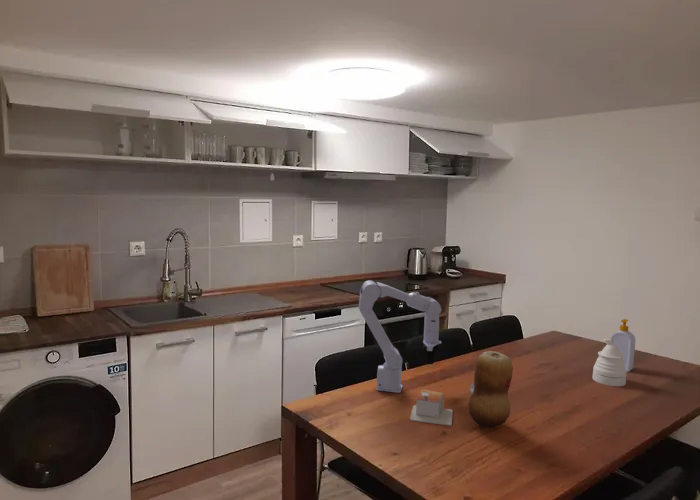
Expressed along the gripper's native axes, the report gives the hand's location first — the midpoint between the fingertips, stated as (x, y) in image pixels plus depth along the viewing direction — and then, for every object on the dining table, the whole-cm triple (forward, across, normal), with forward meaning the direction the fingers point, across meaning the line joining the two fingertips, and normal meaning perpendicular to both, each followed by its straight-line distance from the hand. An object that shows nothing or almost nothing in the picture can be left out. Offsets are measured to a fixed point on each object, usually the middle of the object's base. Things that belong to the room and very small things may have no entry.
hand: (430, 363), depth 204 cm
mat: (+10, -25, -2) cm, 27 cm away
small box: (+7, -17, -2) cm, 18 cm away
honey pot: (+12, +34, -74) cm, 83 cm away
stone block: (+11, +1, -21) cm, 24 cm away
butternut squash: (+11, -27, -22) cm, 36 cm away
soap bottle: (+12, +54, -84) cm, 101 cm away
